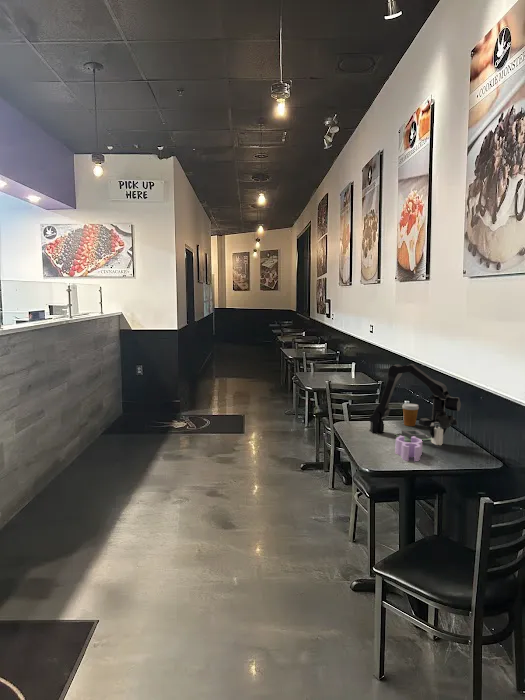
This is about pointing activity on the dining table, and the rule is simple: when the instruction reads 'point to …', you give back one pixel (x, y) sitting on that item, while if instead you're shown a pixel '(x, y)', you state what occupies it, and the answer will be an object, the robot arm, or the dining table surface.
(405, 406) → the disposable coffee cup
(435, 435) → the keyed plug
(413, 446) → the clip
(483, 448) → the dining table surface
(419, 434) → the header socket
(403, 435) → the circuit board
